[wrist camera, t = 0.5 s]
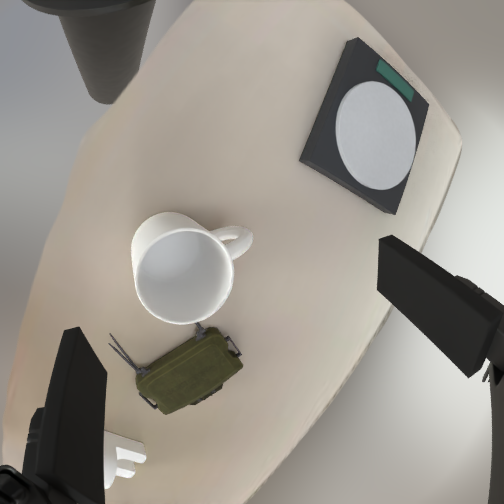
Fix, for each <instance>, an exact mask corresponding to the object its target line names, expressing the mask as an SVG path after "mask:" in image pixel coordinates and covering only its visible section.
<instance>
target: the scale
mask: <svg viewBox="0 0 504 504" xmlns="http://www.w3.org/2000/svg"><path fill="white" fill-rule="evenodd" d="M428 107H429V104H428V103H427V102H426V100H425V99H424V98H423V97H422V96H421V95H420V94H419V93H418V92H417V91H416V90H415V89H414V88H413V87H412V86H411V85H410V84H409V83H408V82H407V81H406V80H405V79H404V78H403V77H402V76H401V75H400V74H399V73H398V72H397V71H396V70H395V69H394V68H393V67H392V66H391V65H390V64H388V63H387V62H386V61H385V60H384V59H383V58H382V57H381V56H380V55H379V54H377V53H376V52H375V51H374V50H373V49H372V48H370V47H369V46H368V45H367V44H366V43H365V42H363V41H362V40H361V39H360V38H358V37H357V38H355V39H352V40H350V41H347V44H346V46H345V49H344V51H343V54H342V56H341V59H340V61H339V64H338V66H337V69H336V71H335V74H334V76H333V79H332V81H331V84H330V86H329V89H328V91H327V94H326V96H325V99H324V101H323V104H322V106H321V109H320V111H319V114H318V116H317V119H316V121H315V124H314V126H313V128H312V131H311V133H310V136H309V138H308V141H307V143H306V146H305V148H304V151H303V153H302V155H301V158H300V160H299V161H300V162H302V163H304V164H306V165H307V166H309V167H311V168H313V169H314V170H316V171H318V172H320V173H321V174H323V175H325V176H326V177H328V178H330V179H332V180H333V181H335V182H337V183H338V184H340V185H342V186H343V187H345V188H347V189H348V190H350V191H351V192H353V193H355V194H356V195H358V196H359V197H361V198H363V199H364V200H366V201H367V202H369V203H370V204H372V205H374V206H375V207H377V208H378V209H380V210H381V211H383V212H384V213H389V214H393V215H396V212H397V209H398V206H399V203H400V201H401V198H402V195H403V192H404V189H405V186H406V183H407V180H408V177H409V174H410V171H411V167H412V164H413V161H414V158H415V154H416V151H417V148H418V144H419V141H420V137H421V134H422V130H423V126H424V123H425V119H426V115H427V111H428Z"/></svg>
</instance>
